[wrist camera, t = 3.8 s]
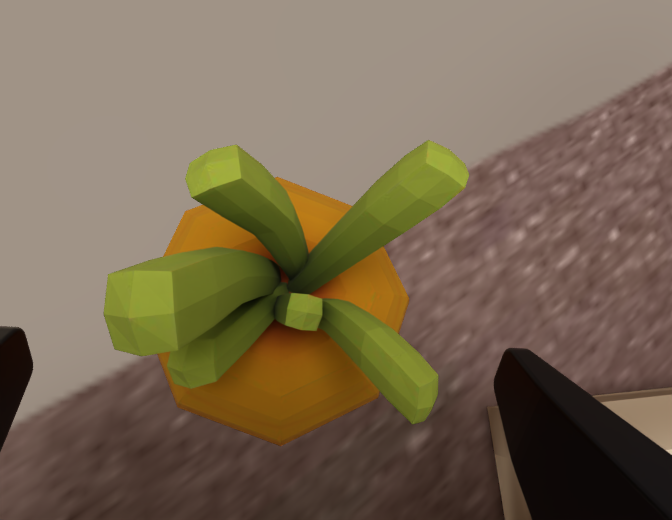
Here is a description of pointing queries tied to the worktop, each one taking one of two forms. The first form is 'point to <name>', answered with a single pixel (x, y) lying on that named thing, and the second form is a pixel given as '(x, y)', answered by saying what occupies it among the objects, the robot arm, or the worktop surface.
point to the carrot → (284, 296)
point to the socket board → (634, 407)
